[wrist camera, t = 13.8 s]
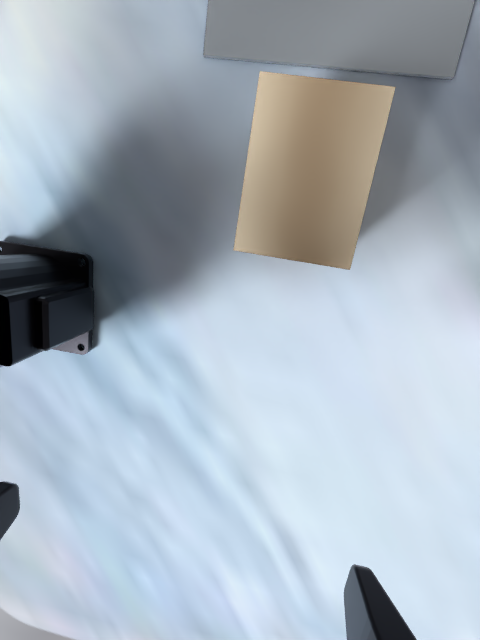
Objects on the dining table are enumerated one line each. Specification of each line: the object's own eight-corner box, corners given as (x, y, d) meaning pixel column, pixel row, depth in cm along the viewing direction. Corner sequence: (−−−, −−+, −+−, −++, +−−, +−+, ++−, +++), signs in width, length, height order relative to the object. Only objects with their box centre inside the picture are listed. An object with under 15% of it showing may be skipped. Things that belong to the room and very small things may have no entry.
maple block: (249, 247, 18) (233, 250, 12) (268, 130, 16) (259, 71, 11) (327, 260, 18) (349, 269, 12) (354, 142, 16) (395, 87, 10)
